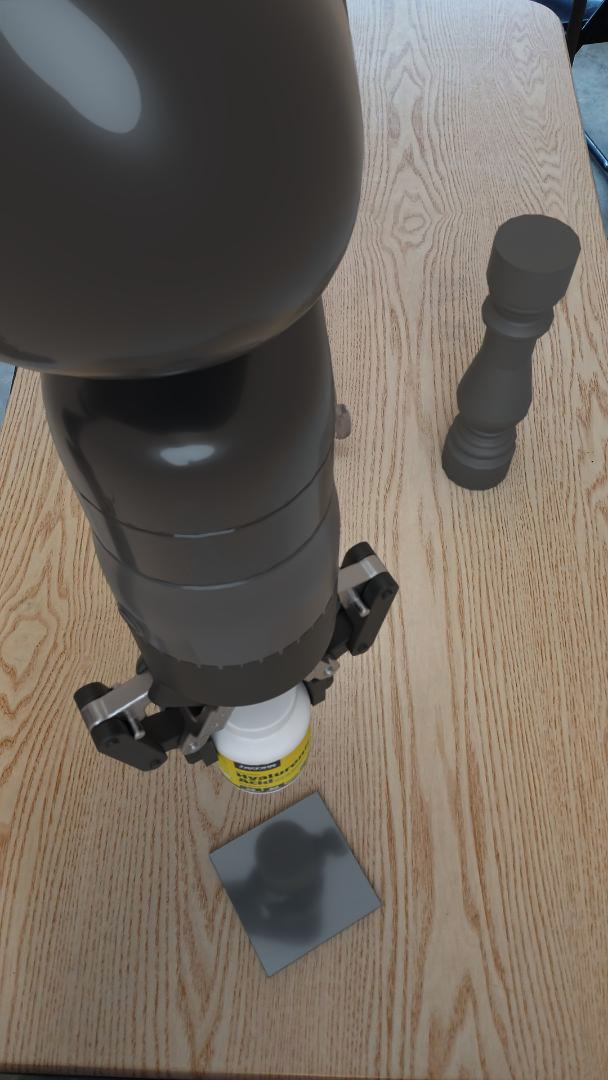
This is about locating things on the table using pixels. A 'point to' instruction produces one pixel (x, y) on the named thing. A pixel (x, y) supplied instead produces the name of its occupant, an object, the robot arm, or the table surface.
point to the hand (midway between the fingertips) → (256, 716)
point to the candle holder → (508, 346)
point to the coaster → (294, 883)
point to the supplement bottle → (266, 742)
